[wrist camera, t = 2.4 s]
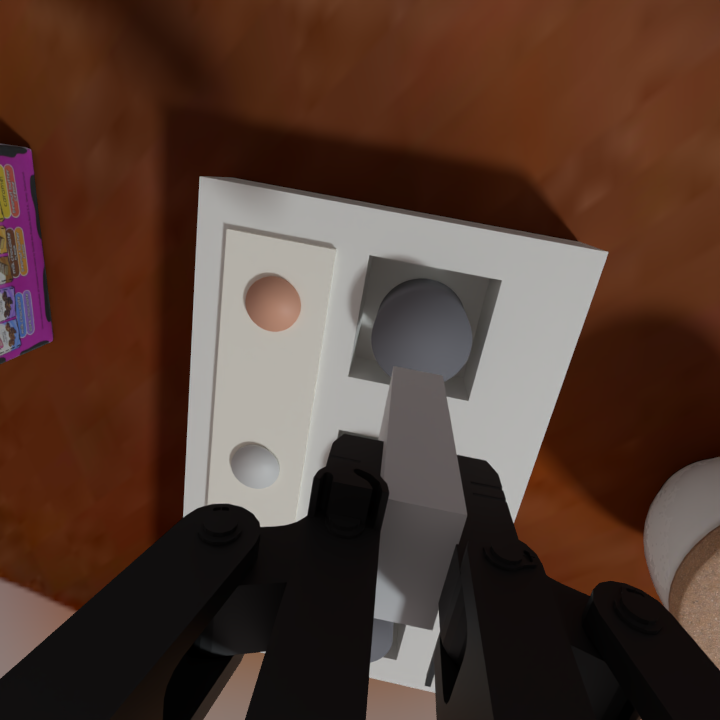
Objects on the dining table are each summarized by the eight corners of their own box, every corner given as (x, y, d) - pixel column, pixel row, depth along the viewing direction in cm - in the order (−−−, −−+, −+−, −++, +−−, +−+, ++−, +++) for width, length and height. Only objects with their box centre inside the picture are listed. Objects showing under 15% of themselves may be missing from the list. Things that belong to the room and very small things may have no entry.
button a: (476, 287, 23) (483, 302, 20) (454, 371, 25) (458, 395, 22) (385, 270, 23) (381, 282, 21) (369, 354, 25) (363, 376, 22)
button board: (579, 241, 24) (612, 253, 20) (449, 640, 34) (453, 704, 30) (232, 177, 25) (194, 175, 21) (203, 585, 35) (173, 639, 31)
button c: (401, 574, 30) (399, 616, 27) (387, 627, 31) (384, 671, 28) (330, 559, 30) (321, 598, 27) (320, 612, 31) (311, 654, 28)
